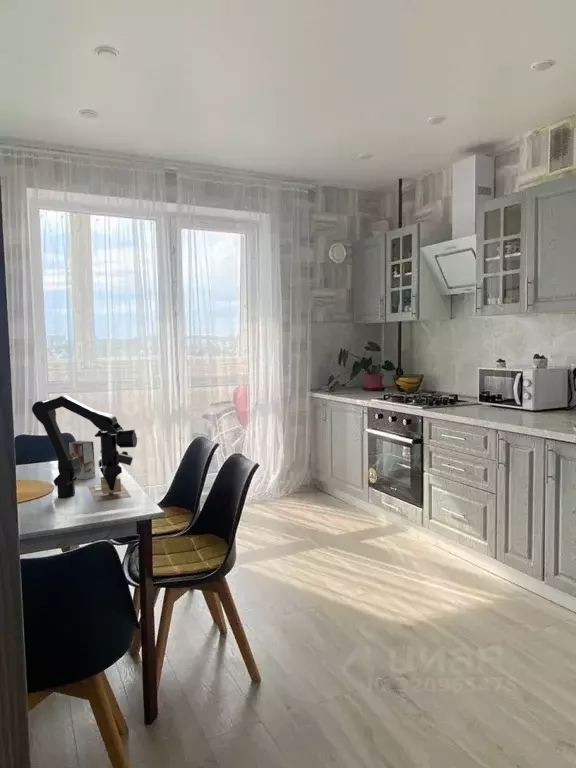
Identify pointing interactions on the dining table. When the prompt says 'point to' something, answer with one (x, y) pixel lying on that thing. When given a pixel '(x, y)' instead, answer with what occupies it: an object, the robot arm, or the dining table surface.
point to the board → (100, 496)
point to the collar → (105, 487)
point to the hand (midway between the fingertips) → (110, 488)
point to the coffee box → (84, 457)
